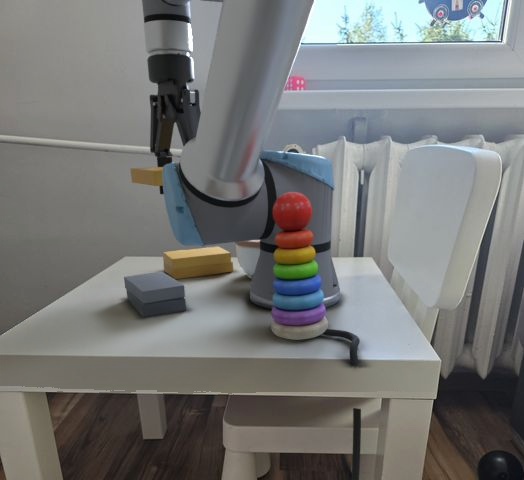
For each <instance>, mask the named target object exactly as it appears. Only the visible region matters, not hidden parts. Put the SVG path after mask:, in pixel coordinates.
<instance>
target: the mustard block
mask: <svg viewBox="0 0 524 480" xmlns="http://www.w3.org/2000/svg"><path fill="white" fill-rule="evenodd" d="M162 169H163V167H158V166H152V167H130V177H131V183H133V184H141V185H147V186H153V187H159V186H163V184H162Z"/></svg>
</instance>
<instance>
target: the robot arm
mask: <svg viewBox="0 0 524 480" xmlns="http://www.w3.org/2000/svg"><path fill="white" fill-rule="evenodd" d="M202 1H203V2H214V3H221V7H220V15H219V18H218V23H217V28H216V34H215V39H214V43H213V49H212V54H211V60H210V65H209V70H208V74H207V79H206V83H205V84H206V85H205V89H204V95H203V100H202V105H201V107H200V91H199V90H198V89H192V88H189V85H188V84H193V82H194V80H195V69H194V67H195V65H194V58H193V57H192V56H190V55H191V54H192V53H193V39H194V35H192V20H191V0H141V3H142V13H143V32H144V39H145V40H144V42H145V51H146V53H147V54H148V55H149V56H148V57H147V59H146V60H147V61H146V62H147V73H148V80H149V81H150V82H151V83H152V84H156V85H157V94H150V95H149V106H150V125H149V126H150V127H149V128H150V130H149V151H150V154H154V156H155V158H156V164H157V167H163V169H162V184H163V186H158V187H159V194H160V195H163V197H164V204H165V210H166V213H167V218H168V222H169V225H170V228H171V231H172V234H173V236H174V238H175V240H176V241H177V243H179V244H180V245H182V246H186V247H191V246H200V247H205V246H210V245H211V246H212V245H221V244H228V243H235V242H240V241H249V240H260V255H259V258H258V262H257V265H256V268H255V272H254V275H252V276H251V278H250V285H249V299H250V302H252V303H253V304H254V305H256V306H259V307H262V308H266V309H270V310H272V308H273V307H274V306H275V305H274V303H273V295H274V293H275V292H276V291H275V289H274V287H273V282H274V280H275V278H276V276H275V275H274V272H273V268H274V265H275V264H276V263H277V262H276V261H275V259H274V252H275V250H276V249H278V248H279V246H277V245H276V243H275V236H276V234H277V233H278V232H280V231H284V230H282V229H281V228H279V227H278V226H277V224H276V223H275V221H274V218H273V206H274V203H275V202H276V200H277V199H278V198H279V197H280V196H281V195H283V194H285V193H288V192H298V193H301V194H303V195H304V196H305V197H306V198H307V199H308V200H309V202H310V204H311V207H312V216H311V219H310V222H309V223H308V225H307V226H306V227H305V228H303V229H308V230H310V231H311V232H312V234H313V241H312V243H311V244H310V246H312V247H313V248H314V249H315V257H314V259H313V260H314V261H315V262H316V263H317V265H318V271H317V273H316V274H317V275H318V276H319V277H320V278H321V281H322V283H321V287H320V289H321V290H322V292H323V294H324V299H323V302H322V304H323V305H324V306H325V308H329V307H331V306H333V305H335V304H337V303H338V302H339V301H340V298H341V297H340V295H341V288H340V283H339V279H338V276H337V272H336V268H335V265H334V261H333V257H332V253H331V251H332V250H331V246H332V225H333V224H332V223H333V201H334V198H333V196H334V191H335V185H334V183H335V181H334V167H333V164H332V162H331V161H330V160H329V159H328V158H326V157H324V156H320V155H313V154H306V153H299V152H298V153H297V152H289V151H288V152H287V151H278V150H265V149H264V148H265V145H266V143H267V140H268V137H269V135H270V131H271V128H272V126H273V123H274V120H275V117H276V114H277V111H278V108H279V107H280V103H281V100H282V98H283V94H284V92H285V89H286V86H287V83H288V80H289V77H290V75H291V72H292V69H293V66H294V63H295V61H296V58H297V56H298V52H299V50H300V47H301V43H302V40H303V38H304V36H305V33H306V29H307V27H308V24H309V21H310V18H311V16H312V12H313V10H314V7H315V5H316V4H315V3H316V2H317V0H201V2H202ZM175 125H176V127H177V130H178V133H179V136H180V140H181V143H182V146H183V147H182V149H181V152H180V157H179V162H176V161H173V155H174V154H173V153H172V152H171V145H172V139H173V132H174V128H175ZM322 335H323V336H328V337H329V336H330V337H337V338H341V339H342V338H343V339H346V340H348V341H350V345H349V349H348V351H349V364H350V366H354V367H357V366H359V358H358V356H359V355H358V350H359V349H358V348H359V346H360V341H361V340H360V338H359V336H358V335H356V334H354V333H353V332H350V331H347V330H342V329H335V328H334V329H332V328H327V329H326V331H325V332H324V333H323V334H321V336H322ZM361 435H362V409H361V408H356V407H353V408H352V461H351V479H350V480H360V466H361V445H362V443H361V441H362V440H361V439H362V436H361Z"/></svg>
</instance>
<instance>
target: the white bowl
mask: <svg viewBox="0 0 524 480" xmlns="http://www.w3.org/2000/svg"><path fill="white" fill-rule="evenodd" d="M234 243H235V254H236V258H237V262H238V265H239V267H240V268H241V270H242V271H243V273H245V274H246V275H247V278H249V279H251V276H252V275H254V272H255V268H256V265H257V262H258V258H259V255H260V240H249V241H240V242H234Z"/></svg>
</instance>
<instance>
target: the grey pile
mask: <svg viewBox="0 0 524 480" xmlns="http://www.w3.org/2000/svg"><path fill="white" fill-rule="evenodd" d="M123 283H124V288H125V291H126V298H127V300H128V301H129V302H130V304H131V305H132V306H133V307H134V309H136V311H137V312H138V313H139V314H140V315H141V316H142V317H143V318H147V317H154V316H160V315H166V314H167V315H168V314H172V313H173V314H174V313H178V312H184V311H187V301H186V298H185V297H186V291H185V284H182V282H179V281H178V280H177V279H174V278H173V277H171V276H170V275H169V274H167V273H166V272H165V271H156V272H149V273H141V274H135V275H127V276H123Z"/></svg>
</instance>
